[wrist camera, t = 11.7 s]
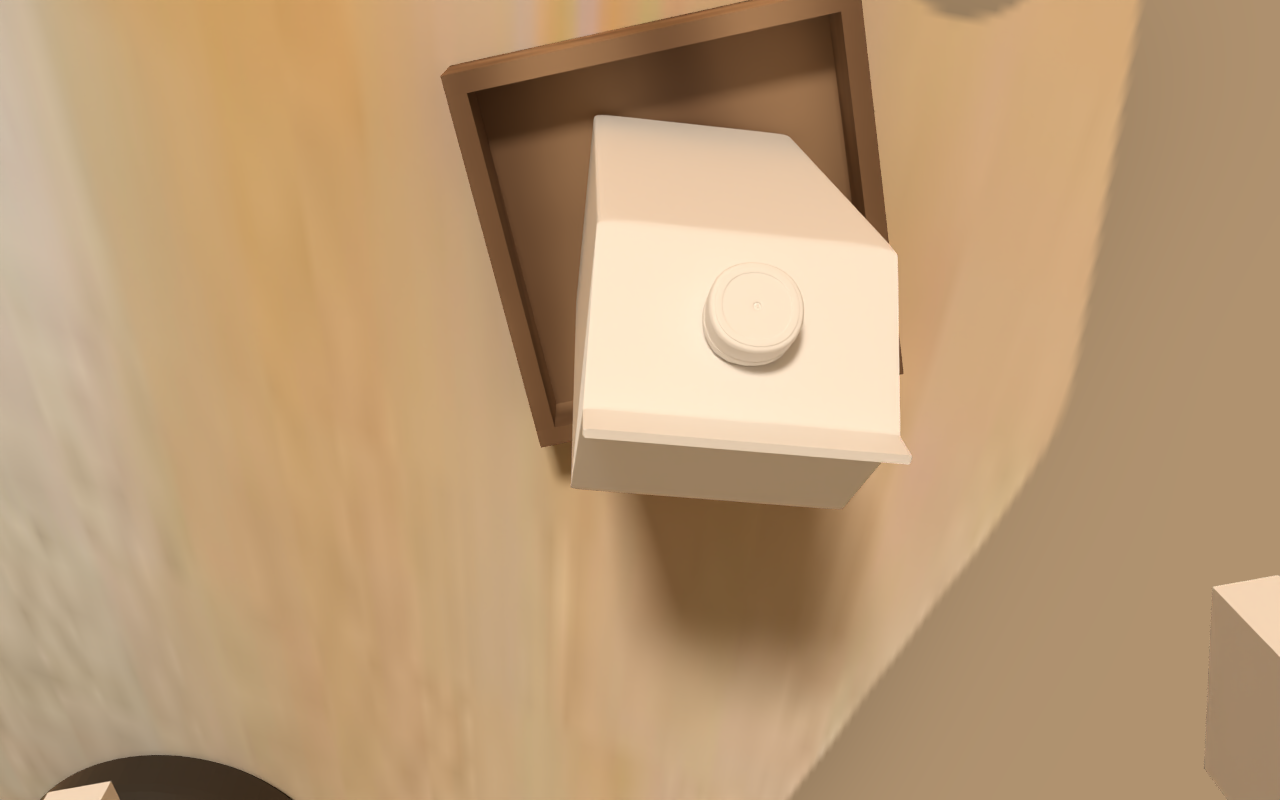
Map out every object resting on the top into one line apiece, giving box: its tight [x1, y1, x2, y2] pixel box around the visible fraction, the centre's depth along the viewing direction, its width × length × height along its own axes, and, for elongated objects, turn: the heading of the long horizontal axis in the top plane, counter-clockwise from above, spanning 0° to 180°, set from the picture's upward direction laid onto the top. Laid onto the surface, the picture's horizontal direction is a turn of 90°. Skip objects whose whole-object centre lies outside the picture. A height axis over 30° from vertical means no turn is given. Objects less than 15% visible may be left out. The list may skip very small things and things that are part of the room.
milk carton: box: [571, 115, 912, 509], centre depth 32 cm, size 7×7×19 cm
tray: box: [441, 0, 903, 447], centre depth 40 cm, size 14×14×3 cm
